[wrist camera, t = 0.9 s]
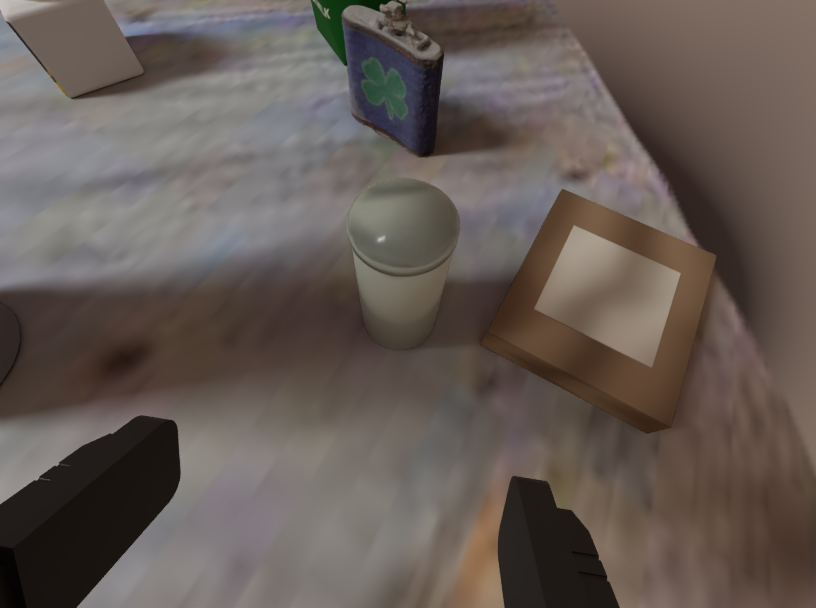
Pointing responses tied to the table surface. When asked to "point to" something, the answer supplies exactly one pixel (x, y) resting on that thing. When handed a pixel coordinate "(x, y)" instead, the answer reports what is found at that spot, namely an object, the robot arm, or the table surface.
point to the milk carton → (340, 20)
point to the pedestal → (605, 311)
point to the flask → (393, 75)
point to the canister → (401, 257)
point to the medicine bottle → (73, 42)
